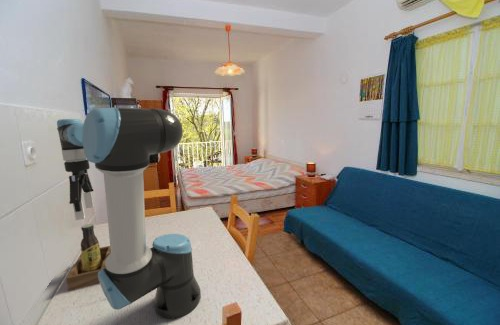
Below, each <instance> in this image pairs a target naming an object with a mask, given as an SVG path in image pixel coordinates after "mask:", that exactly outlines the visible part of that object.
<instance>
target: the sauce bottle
mask: <svg viewBox="0 0 500 325" xmlns="http://www.w3.org/2000/svg"><path fill="white" fill-rule="evenodd" d="M80 229H81V231H82V237H83V238H82V239H81V242H80V251H81V253H82V260H83V267H84V272H85V273H86V272H90V271H94V270H99V269H101V267H102V262H101V254H100V248H101V247H100V242H99V240H98V238H97V236H96V234H95V230H94V224H93V223H87V224H83V225H82V226H81V228H80ZM81 253H80V254H81Z"/></svg>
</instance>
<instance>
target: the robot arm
mask: <svg viewBox="0 0 500 325" xmlns="http://www.w3.org/2000/svg"><path fill="white" fill-rule="evenodd" d="M56 126H57V128H56V129H57V132H58V137H59V141H60V142H59V143H60V148H61V154H62V160H63V161H64V163H63V166H64V169H65V170H64V171H66V172H67V173H71V175H69V176H68V179H69V202H68V203H69V205H72V206H73V212H74V217H75V221H78V220H79V221H80V220H84V219H85V220H86V215H85V214H86V213H85V209H89V208H94V207H95V205H94V199H93V194H92V192H94V188H93V186H92V183H91V180H90V176H89V173H88V170H89V169H90V168H91V167H90V163H93V164H94V167H95V169H96V170H98V171H100V172H101V174H103V181H104V192H105V193H104V194H105V203H106V212H107V227H108V236H109V237H108V238H109V246H110V250H111V253H110V254H109V255H108V257H107V258H106V260H105V269H102V270H100V271H99V272H98V279H99V282H100V283H99V284H100V287H101V289H102V292H103V294H104V296H105V298H106V300H107V302H108V303H109V306H110V307H111V308H112V309H113V310H121V309H123V308H125V307H128V306H130V305H131V304H133V303H135V302H136V301H138V300H140V299H142V298H143V297H145V296H146V295H148V294H150V293H151V292H153V291H154V290H156V291H155V296H154V302H153V303H154V310H155V313H156V314H157V315H158V316H160V318H163V319H178V318H181V317H184V316H186V315H188V314H190V313H191V312H192V311H193V310H195V309H196V308H197V306H198V305H199V304H200V301H201V299H202V298H201V297H202V294H201V287H200V285H199V283H198V281H197V279H196V277H195V275H194V264H193V263H194V262H193V254H192V252H193V248H192V244H191V240H190V237H188V236H187V235H185V234H182V233H181V234H180V233H166V234H162V235H160V236H158V237H156V238H154V239H153V241H152V244H151V245H152V247H151V248H150V247H149V246H147V238H146V236H147V234H146V233H147V232H146V214H145V213H146V211H145V210H146V209H145V208H146V207H145V182H144V171H145V170H146V169H147V168H148V167H149V166H150V160H151V159H150V156H151V155H159V154H164V153H168V152H169V151H172V150H173V149H175V148H176V147H177V146H178V145H179V144H180V143H181V140H182V138H183V134H184V133H183V132H184V131H183V130H184V129H183V125H182V123H181V121H180V120H179V118H178V116H176V115H175V114H173V113H172V112H170V111H168V110H165V109H161V108H139V107H138V108H135V107H133V108H131V107H113V106H112V107H100V108H99V107H97V108H94V109H91V110H90V111H89V112H88V113H87V114H86V116H85V118H84V120H83V122H82V120H81V119H79V118H63V119H58V120H57V121H56ZM82 191H83V193H82ZM82 195H83V200H84V203H83V201H82ZM84 205H85V209H84Z"/></svg>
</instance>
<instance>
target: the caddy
mask: <svg viewBox="0 0 500 325" xmlns="http://www.w3.org/2000/svg"><path fill="white" fill-rule="evenodd" d="M110 253H111V250H110V245H107V246H101V247H100V254H101V262H102V267H101V269H99V270H94V271H90V272H86V273H85V272H84V267H83V260H82V253H80V255H79V257H78V258H77V259H76V261H75V263H74V264H73V266H72V268H71V270H70V272H69V274H68V275H67V277H66V283H67V284H66V285H67V288H68V292H70V291H75V290H78V289H82V288H86V287H91V286H94V285H98V284H100V282H99V279H98V272H99V271H100V270H102V269H105V260H106V258H107V257H108V255H109V254H110Z"/></svg>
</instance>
